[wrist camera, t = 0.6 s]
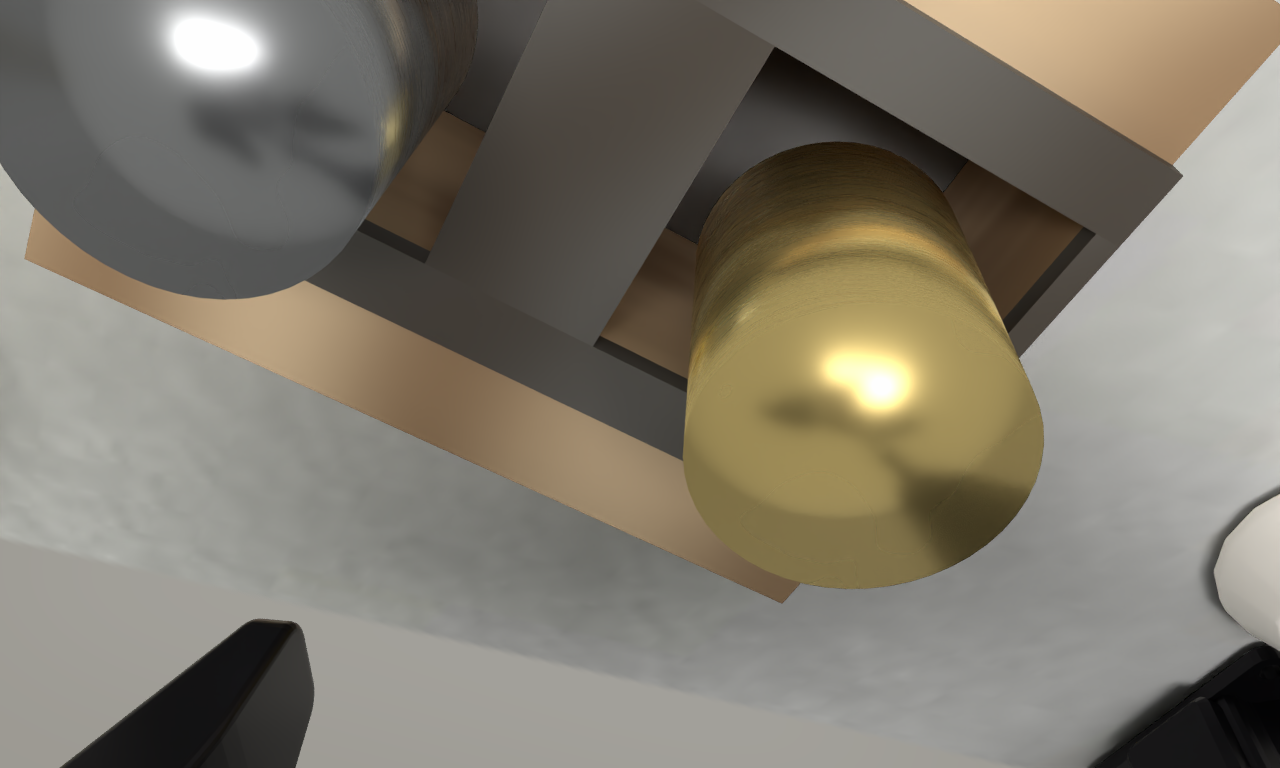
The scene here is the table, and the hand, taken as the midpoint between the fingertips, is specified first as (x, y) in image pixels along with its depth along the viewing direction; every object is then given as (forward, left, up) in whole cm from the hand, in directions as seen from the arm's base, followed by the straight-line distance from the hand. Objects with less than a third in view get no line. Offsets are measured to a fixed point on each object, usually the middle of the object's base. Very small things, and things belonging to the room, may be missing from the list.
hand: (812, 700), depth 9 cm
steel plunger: (+7, 0, -9) cm, 11 cm away
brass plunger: (-1, 0, -9) cm, 9 cm away
